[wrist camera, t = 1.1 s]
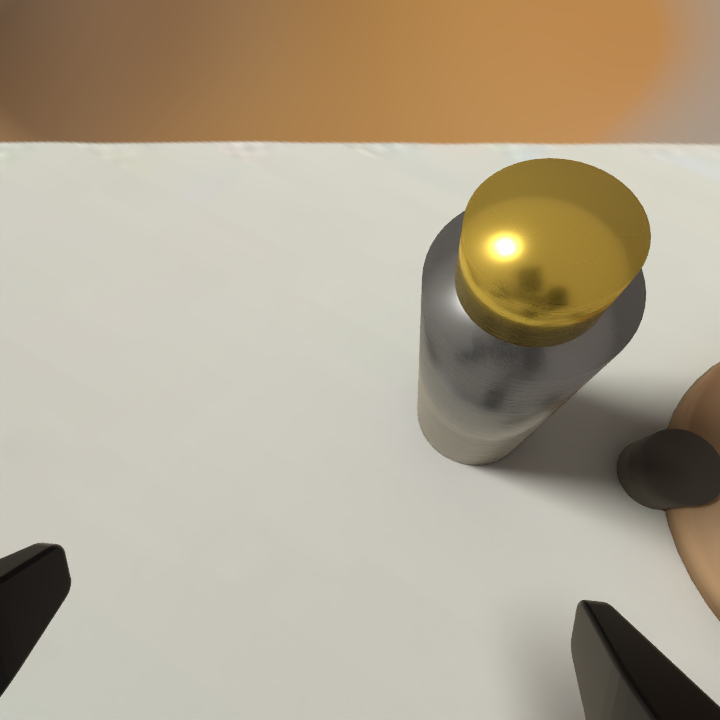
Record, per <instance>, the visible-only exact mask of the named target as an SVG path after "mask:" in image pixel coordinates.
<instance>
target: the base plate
mask: <svg viewBox="0 0 720 720" xmlns="http://www.w3.org/2000/svg"><path fill="white" fill-rule="evenodd" d="M617 473H618V478H619V481H620V483H621V485H622V487H623V488H624V490H625V491H626V492H627V494H628V495H629V496H630V497H631V498H633V499H634V500H635V501H637V502H638V503H640V504H642V505H643V506H646V507H648V508H652V509H658V510H664V509H665V512H666V516H667V521H668V525H669V528H670V531H671V534H672V537H673V539H674V542H675V545H676V548H677V551H678V553H679V555H680V557H681V559H682V561H683V563H684V565H685V568H686V570H687V572H688V574H689V576H690V578H691V580H692V581H693V583H694V584H695V586H696V588H697V589H698V591H699V592H700V594H701V596H702V597H703V599H704V600H705V602H706V604H707V605H708V607H709V608H710V609H711V611H712V612H713V613H714V614H715V616H716V617H717V618H718V620H719V621H720V362H719V363H718V364H716V365H714V366H713V367H711V368H710V369H709V370H708V371H707V372H705V373H704V374H703V375H702V376H701V377H700V378H698V379H697V380H696V381H695V382H694V384H693V385H692V386H691V387H690V388H689V390H688V391H687V392H686V393H685V394H684V396H683V397H682V399H681V401H680V402H679V404H678V406H677V408H676V409H675V411H674V413H673V415H672V418H671V421H670V423H669V426H668V428H667V429H666V430H663V431H660V432H658V433H655V434H653V435H651V436H649V437H646V438H644V439H642V440H639V441H637V442H635V443H633V444H631V445H629V446H627V447H626V448H625V449H624V450H623V451H622V453H621V454H620V456H619V459H618V463H617Z"/></svg>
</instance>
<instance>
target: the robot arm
mask: <svg viewBox="0 0 720 720" xmlns="http://www.w3.org/2000/svg"><path fill="white" fill-rule="evenodd" d="M70 587H71V577H70V573H69V568H68V564H67V559H66V555H65V551H64V549H63V548H62V546H60V545H58V544H49V543H37V544H34V545H31V546H29V547H27V548H24V549H22V550H20V551H17V552H15V553H13V554H10V555H8V556H6V557H4V558H1V559H0V697H1V695H2V694H3V693H4V691H5V690H6V689H7V687H8V686H9V684H10V683H11V681H12V680H13V679H14V677H15V676H16V674H17V673H18V671H19V670H20V668H21V667H22V665H23V663H24V662H25V660H26V659H27V657H28V656H29V654H30V653H31V651H32V649H33V648H34V646H35V645H36V643H37V642H38V640H39V639H40V637H41V635H42V634H43V632H44V631H45V629H46V628H47V626H48V625H49V623H50V622H51V620H52V618H53V617H54V615H55V614H56V612H57V611H58V609H59V608H60V606H61V604H62V603H63V601H64V600H65V598H66V597H67V595H68V593H69V590H70ZM571 652H572V658H573V663H574V667H575V672H576V676H577V681H578V685H579V690H580V694H581V699H582V703H583V708H584V713H585V717H586V720H720V707H719V706H718V705H717V704H716V703H715V702H714V701H713V700H712V699H711V698H710V697H709V696H708V695H707V694H706V693H704V692H703V691H702V690H701V689H700V688H699V687H698V686H697V685H696V684H695V683H694V682H693V681H692V680H690V679H689V678H688V677H687V676H686V675H685V674H684V673H683V672H682V671H681V670H680V669H679V668H678V667H677V666H675V665H674V664H673V663H672V662H671V661H670V660H669V659H668V658H667V657H666V656H665V655H664V654H663V653H662V652H660V651H659V650H658V649H657V648H656V647H655V646H654V645H653V644H652V643H651V642H650V641H649V640H648V639H646V638H645V637H644V636H643V635H642V634H641V633H640V632H639V631H638V630H637V629H636V628H635V627H634V626H633V625H631V624H630V623H629V622H628V621H627V620H626V619H625V618H624V617H623V616H622V615H621V614H620V613H619V612H618V611H616V610H615V609H614V608H613V607H612V606H611V605H609V604H608V603H605V602H598V601H589V600H582V601H580V602H579V603H578V605H577V609H576V615H575V621H574V627H573V632H572V638H571Z"/></svg>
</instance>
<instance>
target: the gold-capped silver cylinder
mask: <svg viewBox="0 0 720 720" xmlns="http://www.w3.org/2000/svg"><path fill="white" fill-rule="evenodd" d="M650 240H651V233H650V225H649V221H648V218H647V215H646V213H645V211H644V208H643V206H642V205H641V203H640V202H639V200H638V199H637V197H636V196H635V195H634V194H633V193H632V192H631V190H630V189H629V188H627V187H626V186H625V185H624V184H623V183H622V182H620V181H619V180H618V179H616V178H615V177H614V176H612V175H610V174H608V173H607V172H605V171H603V170H601V169H598V168H596V167H594V166H591V165H588V164H585V163H582V162H577V161H573V160H566V159H553V158H546V159H534V160H528V161H524V162H520V163H516V164H513V165H511V166H508V167H506V168H504V169H502V170H500V171H498V172H496V173H495V174H493V175H492V176H490V177H489V178H488V179H486V180H485V181H484V182H483V183H482V184H481V185H480V186H479V187H478V188H477V190H476V191H475V192H474V194H473V195H472V197H471V198H470V200H469V202H468V205H467V207H466V210H465V211H464V212H462V213H461V214H459V215H458V216H456V217H455V218H454V219H452V220H451V221H450V222H449V223H448V224H447V225H446V226H445V227H444V228H443V229H442V230H441V232H440V233H439V234H438V235H437V237H436V238H435V240H434V241H433V243H432V245H431V247H430V249H429V251H428V253H427V256H426V259H425V263H424V267H423V275H422V296H421V324H420V352H419V380H418V408H417V409H418V420H419V424H420V427H421V430H422V432H423V434H424V436H425V438H426V439H427V441H428V442H429V443H430V444H431V446H432V447H433V448H434V449H435V450H436V451H438V452H439V453H440V454H442V455H443V456H445V457H447V458H448V459H450V460H453V461H455V462H458V463H462V464H468V465H482V464H488V463H492V462H494V461H497V460H499V459H501V458H503V457H504V456H506V455H507V454H508V453H510V452H511V451H512V450H513V449H514V448H515V447H516V446H517V445H519V444H520V443H521V442H522V441H523V440H524V439H525V438H526V437H527V436H528V435H530V434H531V433H532V432H533V431H534V430H535V429H536V428H537V427H538V426H539V425H541V424H542V423H543V422H544V421H545V420H546V419H547V418H548V417H549V416H550V415H552V414H553V413H554V412H555V411H556V410H557V409H558V408H559V407H560V406H561V405H563V404H564V403H565V402H566V401H567V400H568V399H569V398H570V397H571V396H572V395H574V394H575V393H576V392H577V391H578V390H579V389H580V388H581V387H582V386H583V385H585V384H586V383H587V382H588V381H589V380H590V379H591V378H592V377H593V376H594V375H596V374H597V373H598V372H599V371H600V370H601V369H602V368H603V367H604V366H605V365H607V364H608V363H609V362H610V361H611V360H612V359H613V358H614V357H615V356H616V355H618V354H619V353H620V352H621V351H622V350H623V348H624V347H625V346H626V345H627V344H628V343H629V342H630V340H631V339H632V337H633V336H634V334H635V333H636V331H637V329H638V327H639V325H640V322H641V320H642V317H643V313H644V309H645V301H646V288H645V280H644V276H643V272H642V266H643V265H644V262H645V260H646V258H647V256H648V252H649V248H650Z"/></svg>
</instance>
